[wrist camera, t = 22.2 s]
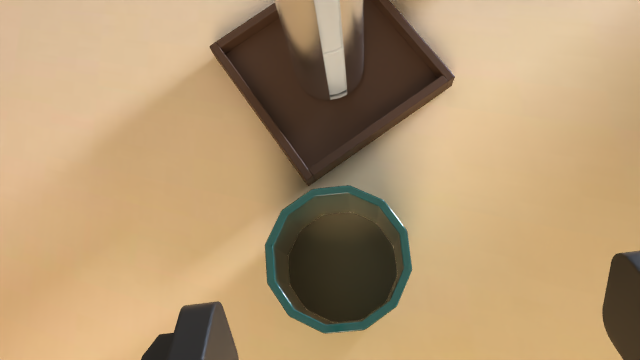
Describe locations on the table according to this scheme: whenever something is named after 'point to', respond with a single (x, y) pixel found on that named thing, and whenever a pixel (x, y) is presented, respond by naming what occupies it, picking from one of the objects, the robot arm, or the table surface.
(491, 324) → the table surface
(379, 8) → the tray
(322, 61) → the silver metal cylinder
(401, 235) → the cup
